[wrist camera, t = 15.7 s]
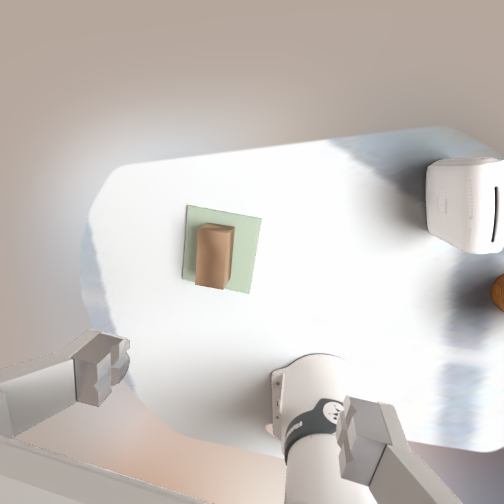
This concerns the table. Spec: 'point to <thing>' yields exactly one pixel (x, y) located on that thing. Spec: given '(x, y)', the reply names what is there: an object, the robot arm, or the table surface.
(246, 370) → the table surface
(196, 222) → the rubber mat
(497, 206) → the photo printer
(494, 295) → the disposable coffee cup
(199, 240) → the box
